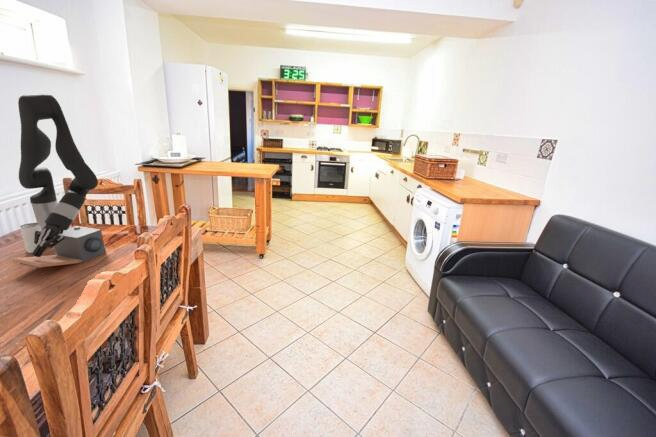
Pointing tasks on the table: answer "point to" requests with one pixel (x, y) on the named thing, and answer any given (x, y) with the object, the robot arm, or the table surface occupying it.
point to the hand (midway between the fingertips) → (35, 256)
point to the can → (29, 235)
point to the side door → (46, 261)
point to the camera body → (81, 243)
